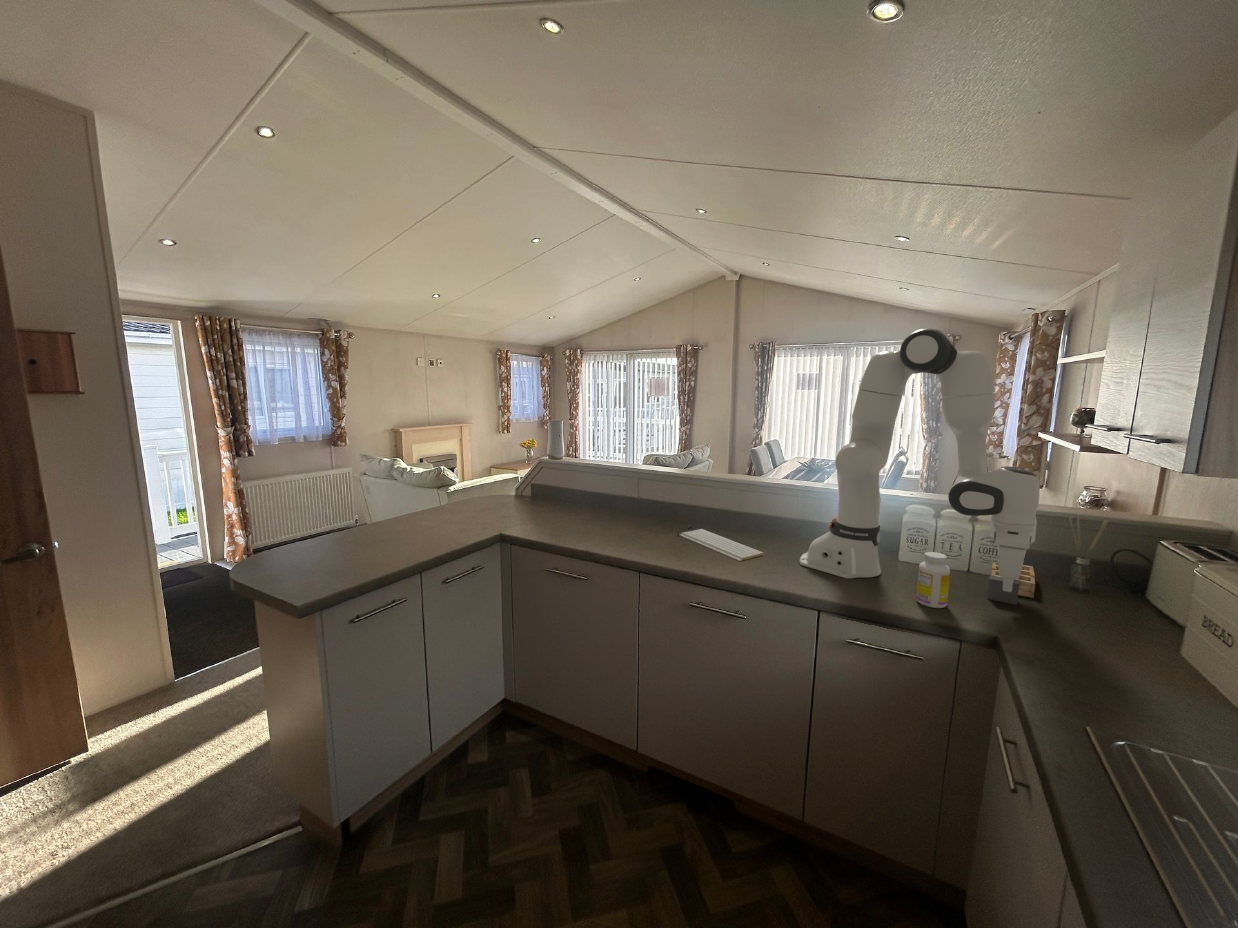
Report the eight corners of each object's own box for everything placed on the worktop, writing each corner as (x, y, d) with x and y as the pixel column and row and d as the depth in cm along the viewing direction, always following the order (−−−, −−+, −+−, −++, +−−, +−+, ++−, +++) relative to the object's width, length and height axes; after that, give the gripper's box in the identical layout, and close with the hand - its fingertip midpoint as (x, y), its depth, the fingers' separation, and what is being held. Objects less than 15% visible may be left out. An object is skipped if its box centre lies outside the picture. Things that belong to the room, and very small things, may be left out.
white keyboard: (736, 563, 152) (763, 556, 158) (736, 554, 152) (763, 548, 158) (676, 537, 179) (701, 532, 185) (676, 529, 178) (701, 525, 184)
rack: (989, 588, 131) (991, 575, 131) (991, 568, 145) (993, 556, 145) (1033, 597, 126) (1035, 584, 125) (1031, 576, 140) (1033, 563, 139)
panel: (986, 598, 126) (989, 578, 125) (987, 595, 127) (989, 575, 127) (1016, 605, 122) (1019, 584, 121) (1016, 601, 124) (1019, 581, 123)
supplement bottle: (944, 600, 125) (950, 552, 123) (948, 611, 119) (954, 561, 117) (914, 595, 128) (919, 548, 125) (916, 605, 122) (921, 557, 120)
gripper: (997, 520, 131) (992, 569, 133) (995, 539, 116) (990, 594, 118) (1027, 524, 128) (1022, 574, 130) (1030, 544, 112) (1024, 601, 114)
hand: (1007, 584), depth 124 cm, fingers open, 8 cm apart
